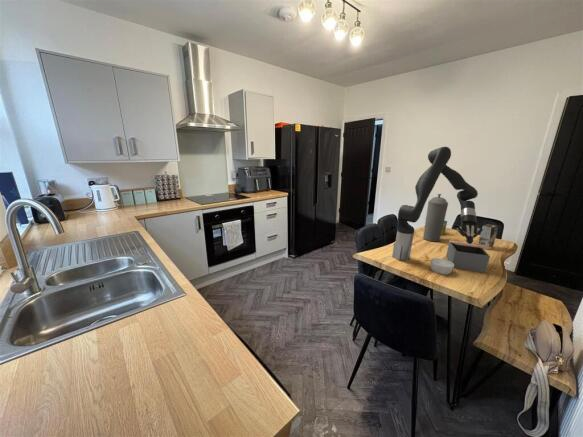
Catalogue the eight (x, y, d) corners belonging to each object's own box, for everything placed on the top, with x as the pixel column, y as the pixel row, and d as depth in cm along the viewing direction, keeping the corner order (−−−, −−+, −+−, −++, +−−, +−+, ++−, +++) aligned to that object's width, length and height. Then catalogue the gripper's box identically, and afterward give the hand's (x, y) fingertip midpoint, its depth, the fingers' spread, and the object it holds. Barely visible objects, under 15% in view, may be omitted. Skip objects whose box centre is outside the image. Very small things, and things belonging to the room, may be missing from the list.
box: (485, 272, 130) (490, 256, 128) (451, 267, 136) (455, 251, 133) (476, 260, 145) (480, 245, 142) (446, 256, 150) (449, 241, 148)
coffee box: (488, 250, 161) (493, 227, 157) (477, 247, 166) (482, 225, 162) (493, 247, 166) (499, 225, 161) (482, 244, 171) (487, 223, 167)
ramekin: (424, 268, 135) (426, 259, 134) (437, 264, 140) (439, 256, 138) (443, 277, 125) (445, 268, 124) (457, 273, 130) (459, 264, 128)
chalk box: (436, 235, 188) (439, 217, 184) (426, 231, 197) (430, 214, 193) (445, 234, 191) (448, 217, 187) (435, 231, 199) (439, 214, 195)
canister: (444, 242, 174) (454, 195, 165) (428, 242, 173) (437, 195, 164) (433, 236, 187) (442, 192, 177) (418, 236, 186) (425, 192, 176)
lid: (491, 249, 127) (491, 247, 127) (456, 244, 133) (456, 242, 133) (480, 245, 142) (480, 244, 142) (449, 241, 148) (449, 240, 148)
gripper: (457, 212, 142) (458, 239, 135) (484, 215, 137) (486, 242, 130) (453, 218, 148) (454, 244, 141) (478, 221, 144) (481, 247, 137)
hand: (470, 243), depth 136 cm, fingers closed
